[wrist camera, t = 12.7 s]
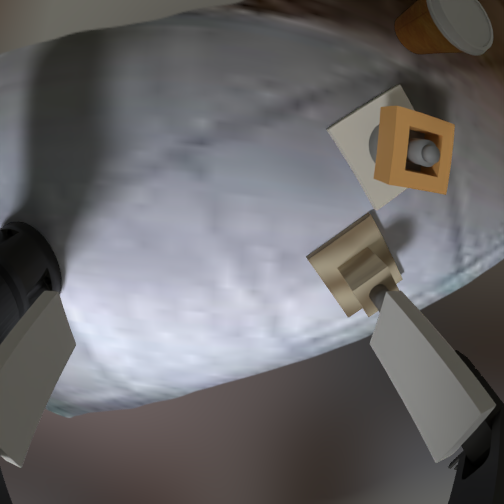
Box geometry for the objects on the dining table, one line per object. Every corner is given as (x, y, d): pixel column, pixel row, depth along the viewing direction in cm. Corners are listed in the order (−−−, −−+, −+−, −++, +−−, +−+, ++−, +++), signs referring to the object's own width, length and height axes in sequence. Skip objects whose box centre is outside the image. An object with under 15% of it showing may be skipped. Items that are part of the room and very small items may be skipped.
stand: (306, 256, 37) (327, 297, 28) (367, 212, 35) (406, 240, 26) (346, 313, 42) (370, 358, 32) (399, 276, 40) (433, 312, 30)
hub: (326, 129, 31) (360, 129, 22) (396, 85, 29) (443, 77, 20) (373, 208, 35) (413, 235, 26) (435, 162, 33) (483, 176, 24)
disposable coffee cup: (442, 28, 24) (495, 13, 13) (434, 77, 28) (493, 70, 17) (389, -6, 23) (436, -37, 12) (378, 43, 26) (431, 18, 15)
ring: (373, 178, 29) (388, 184, 25) (380, 106, 26) (396, 105, 22) (428, 187, 29) (445, 194, 26) (436, 123, 26) (454, 124, 23)
